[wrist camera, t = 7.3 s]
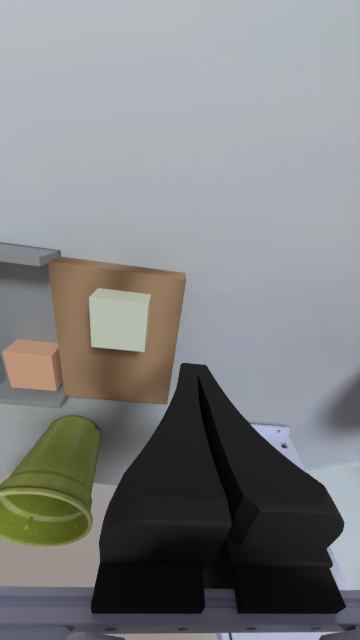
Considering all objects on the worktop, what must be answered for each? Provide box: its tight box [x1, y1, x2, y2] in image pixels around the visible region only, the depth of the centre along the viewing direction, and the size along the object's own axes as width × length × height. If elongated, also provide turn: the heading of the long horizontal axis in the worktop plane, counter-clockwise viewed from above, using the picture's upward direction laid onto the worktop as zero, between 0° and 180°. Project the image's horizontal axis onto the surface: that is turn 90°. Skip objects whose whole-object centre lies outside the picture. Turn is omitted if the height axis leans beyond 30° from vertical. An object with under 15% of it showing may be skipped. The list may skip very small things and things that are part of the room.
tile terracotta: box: [2, 339, 63, 391], centre depth 20 cm, size 4×4×2 cm
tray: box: [0, 243, 67, 408], centre depth 18 cm, size 7×14×3 cm, turn 172°
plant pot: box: [0, 416, 101, 546], centre depth 22 cm, size 9×9×9 cm
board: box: [48, 257, 186, 404], centre depth 20 cm, size 10×13×2 cm
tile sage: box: [89, 288, 151, 352], centre depth 17 cm, size 4×4×2 cm
